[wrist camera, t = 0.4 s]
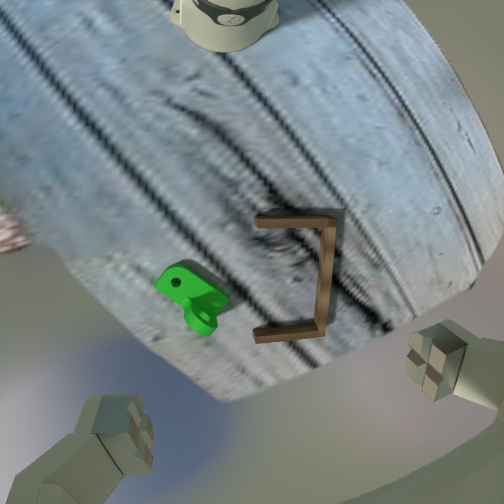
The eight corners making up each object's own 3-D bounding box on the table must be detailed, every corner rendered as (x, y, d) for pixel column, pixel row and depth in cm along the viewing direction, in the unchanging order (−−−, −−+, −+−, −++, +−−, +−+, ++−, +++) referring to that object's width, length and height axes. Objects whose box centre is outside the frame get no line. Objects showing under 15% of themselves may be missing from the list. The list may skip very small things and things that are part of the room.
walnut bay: (254, 216, 54) (258, 219, 51) (329, 215, 56) (336, 218, 53) (252, 335, 60) (255, 343, 57) (319, 329, 62) (324, 336, 60)
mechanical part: (228, 295, 57) (234, 315, 49) (208, 319, 58) (211, 341, 50) (174, 256, 53) (171, 272, 46) (155, 282, 54) (149, 301, 46)
